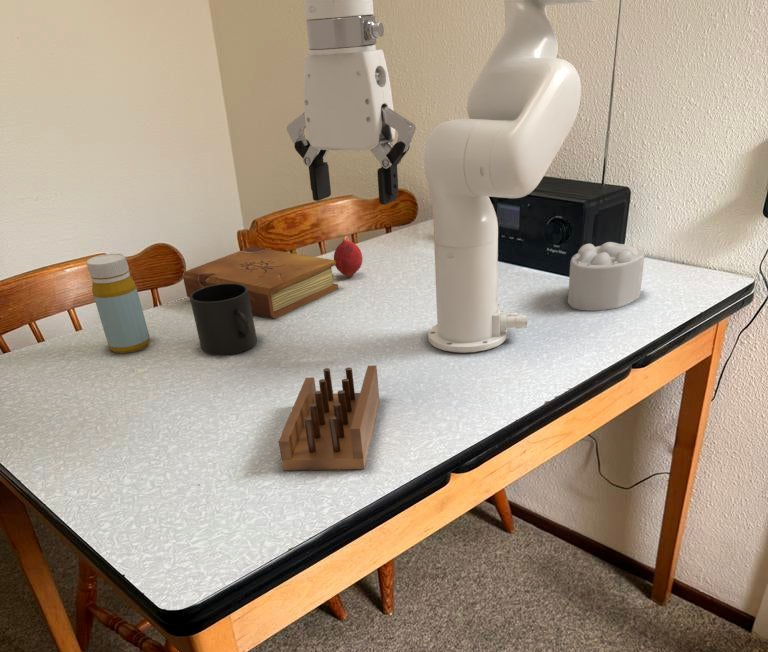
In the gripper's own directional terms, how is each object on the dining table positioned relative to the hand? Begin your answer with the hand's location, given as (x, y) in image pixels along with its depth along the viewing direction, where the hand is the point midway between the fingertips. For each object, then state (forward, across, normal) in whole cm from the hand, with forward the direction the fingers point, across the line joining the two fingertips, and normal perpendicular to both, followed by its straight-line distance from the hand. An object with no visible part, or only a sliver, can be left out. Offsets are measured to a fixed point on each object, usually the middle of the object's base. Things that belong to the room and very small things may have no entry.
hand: (354, 200), depth 93 cm
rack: (+26, -2, +12) cm, 29 cm away
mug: (+26, +31, -7) cm, 41 cm away
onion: (+26, +32, -45) cm, 61 cm away
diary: (+26, +43, -30) cm, 58 cm away
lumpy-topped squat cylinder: (+25, -19, -47) cm, 57 cm away
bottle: (+26, +49, -1) cm, 56 cm away
